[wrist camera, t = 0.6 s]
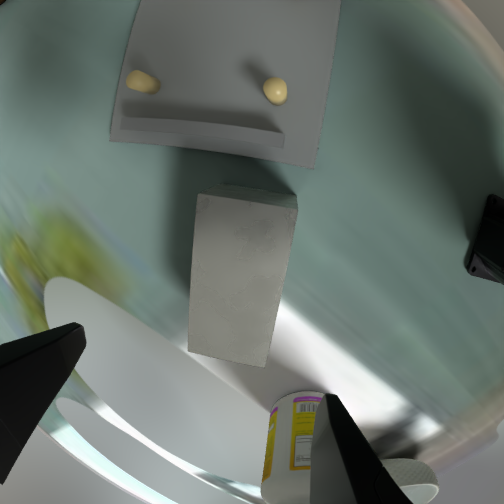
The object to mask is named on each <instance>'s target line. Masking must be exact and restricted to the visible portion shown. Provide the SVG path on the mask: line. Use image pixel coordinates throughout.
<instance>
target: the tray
mask: <svg viewBox="0 0 504 504" xmlns="http://www.w3.org/2000/svg"><path fill="white" fill-rule="evenodd" d="M340 6H341V0H141V2H140V5H139V8H138V11H137V14H136V17H135V20H134V24H133V27H132V30H131V34H130V37H129V41H128V45H127V49H126V53H125V57H124V61H123V65H122V70H121V74H120V79H119V84H118V89H117V94H116V100H115V106H114V112H113V118H112V125H111V132H110V140H109V141H111V142H129V143H143V144H154V145H165V146H175V147H184V148H192V149H200V150H208V151H215V152H222V153H229V154H235V155H242V156H248V157H253V158H259V159H265V160H270V161H275V162H281V163H286V164H291V165H295V166H300V167H305V168H309V169H314V165H315V160H316V155H317V150H318V145H319V139H320V134H321V129H322V123H323V118H324V112H325V106H326V101H327V95H328V89H329V83H330V77H331V70H332V64H333V57H334V51H335V44H336V37H337V29H338V22H339V14H340Z"/></svg>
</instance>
